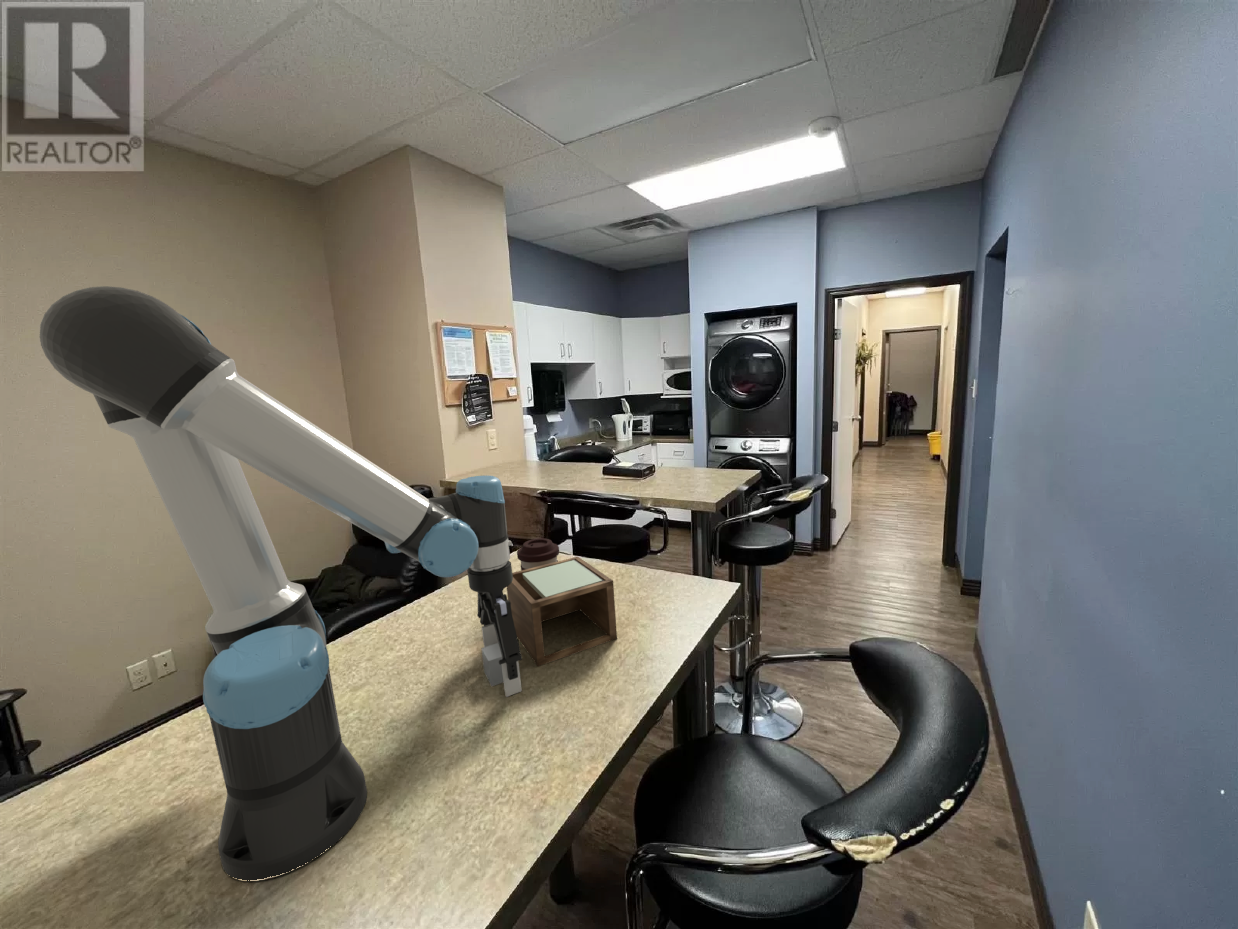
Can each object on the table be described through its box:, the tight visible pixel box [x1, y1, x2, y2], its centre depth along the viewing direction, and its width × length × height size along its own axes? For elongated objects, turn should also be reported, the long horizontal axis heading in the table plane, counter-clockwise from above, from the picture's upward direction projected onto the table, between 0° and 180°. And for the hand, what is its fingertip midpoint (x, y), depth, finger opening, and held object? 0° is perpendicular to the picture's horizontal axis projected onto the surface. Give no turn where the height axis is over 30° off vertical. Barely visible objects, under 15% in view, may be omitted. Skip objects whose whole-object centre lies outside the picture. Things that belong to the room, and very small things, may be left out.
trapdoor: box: [523, 560, 604, 598], centre depth 99 cm, size 12×14×1 cm
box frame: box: [506, 556, 618, 667], centre depth 100 cm, size 17×17×12 cm
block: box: [481, 643, 504, 687], centre depth 87 cm, size 5×5×5 cm
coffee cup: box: [516, 537, 560, 571], centre depth 115 cm, size 10×10×15 cm
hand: (502, 673), depth 88 cm, fingers open, 13 cm apart
